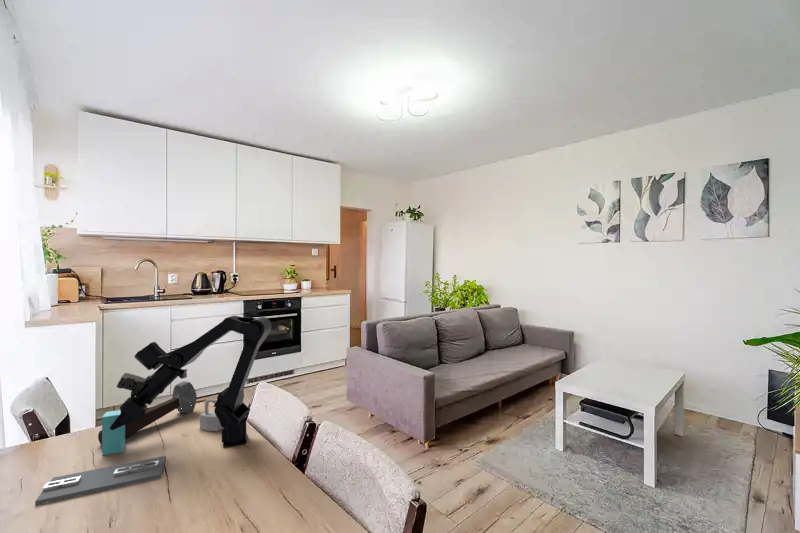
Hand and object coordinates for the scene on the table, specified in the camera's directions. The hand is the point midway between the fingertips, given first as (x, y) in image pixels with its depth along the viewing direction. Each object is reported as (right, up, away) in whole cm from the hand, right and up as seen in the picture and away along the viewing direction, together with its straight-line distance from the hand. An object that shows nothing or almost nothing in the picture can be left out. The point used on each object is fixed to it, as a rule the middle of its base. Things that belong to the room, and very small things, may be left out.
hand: (115, 422), depth 107 cm
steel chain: (+9, -7, -15) cm, 19 cm away
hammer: (0, -8, +16) cm, 18 cm away
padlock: (+21, -8, +14) cm, 27 cm away
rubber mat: (+9, -8, -14) cm, 19 cm away
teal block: (0, -8, 0) cm, 8 cm away
